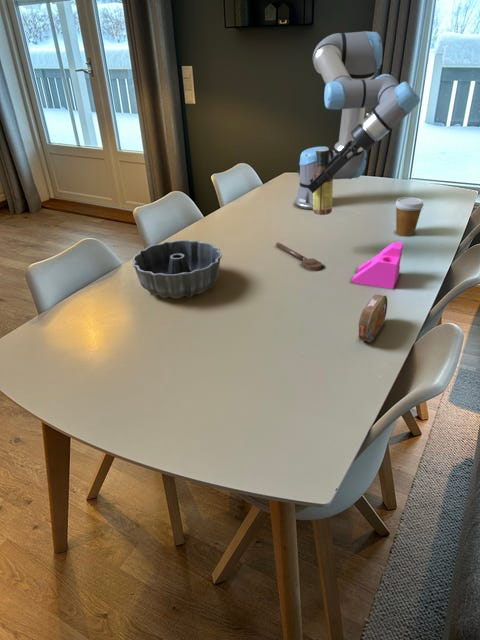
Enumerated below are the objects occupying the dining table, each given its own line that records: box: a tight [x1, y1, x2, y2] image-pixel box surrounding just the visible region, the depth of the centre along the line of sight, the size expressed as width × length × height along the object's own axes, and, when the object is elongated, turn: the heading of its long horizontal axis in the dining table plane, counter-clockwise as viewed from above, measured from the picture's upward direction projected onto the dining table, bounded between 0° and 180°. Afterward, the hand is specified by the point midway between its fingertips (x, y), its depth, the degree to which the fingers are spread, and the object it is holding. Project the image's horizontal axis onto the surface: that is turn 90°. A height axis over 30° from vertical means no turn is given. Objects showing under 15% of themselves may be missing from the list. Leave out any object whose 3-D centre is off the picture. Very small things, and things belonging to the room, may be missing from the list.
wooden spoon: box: [275, 242, 323, 271], centre depth 157 cm, size 24×5×2 cm, turn 29°
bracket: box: [351, 241, 404, 290], centre depth 139 cm, size 12×10×10 cm
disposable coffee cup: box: [395, 196, 424, 237], centre depth 168 cm, size 10×10×12 cm
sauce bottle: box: [312, 148, 334, 216], centre depth 148 cm, size 7×6×20 cm
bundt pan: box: [132, 239, 223, 299], centre depth 141 cm, size 26×26×10 cm
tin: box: [358, 294, 388, 343], centre depth 114 cm, size 15×3×8 cm, turn 148°
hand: (311, 186), depth 149 cm, fingers closed on sauce bottle, 6 cm apart
